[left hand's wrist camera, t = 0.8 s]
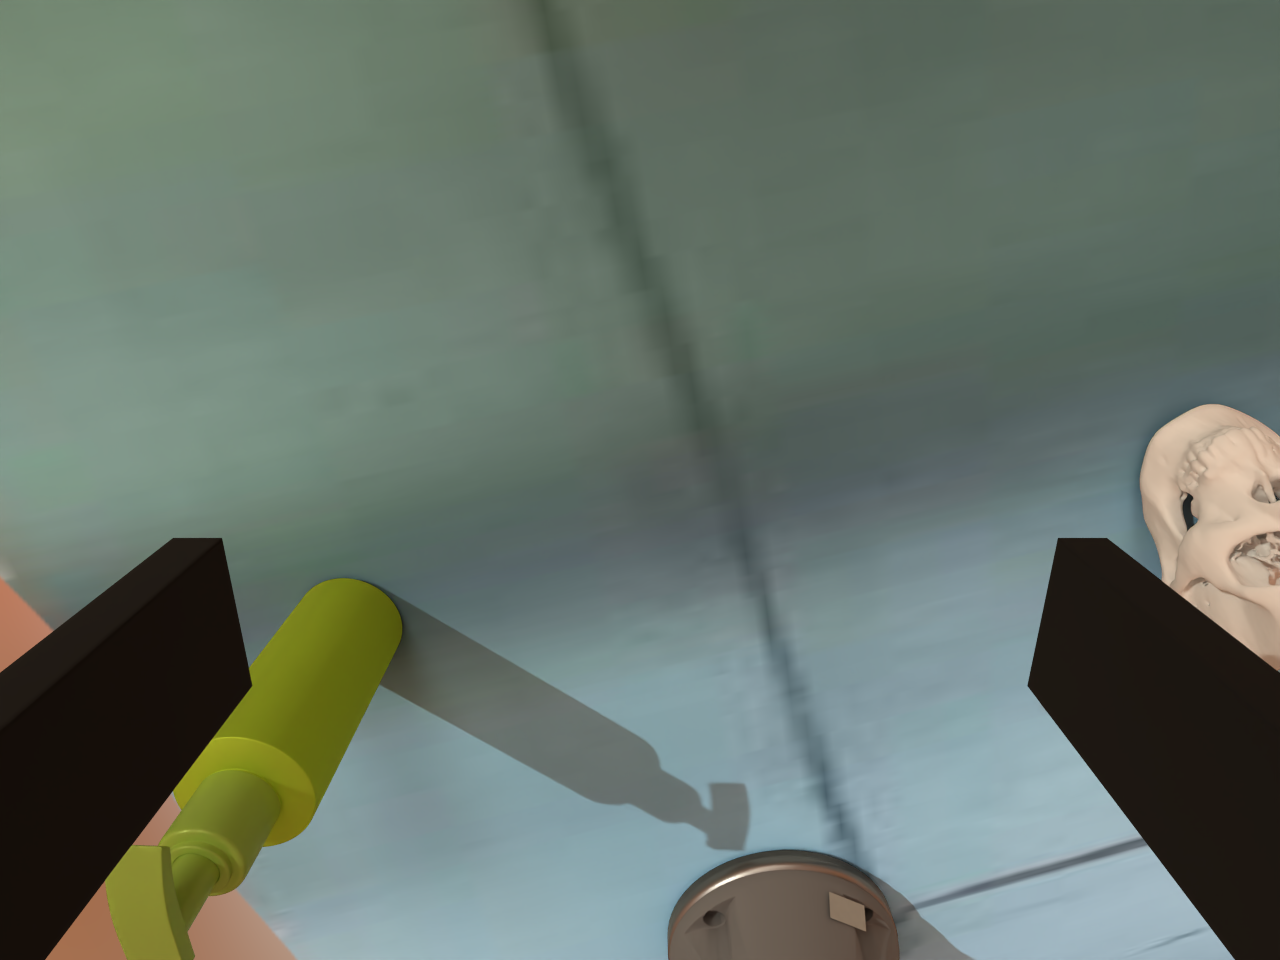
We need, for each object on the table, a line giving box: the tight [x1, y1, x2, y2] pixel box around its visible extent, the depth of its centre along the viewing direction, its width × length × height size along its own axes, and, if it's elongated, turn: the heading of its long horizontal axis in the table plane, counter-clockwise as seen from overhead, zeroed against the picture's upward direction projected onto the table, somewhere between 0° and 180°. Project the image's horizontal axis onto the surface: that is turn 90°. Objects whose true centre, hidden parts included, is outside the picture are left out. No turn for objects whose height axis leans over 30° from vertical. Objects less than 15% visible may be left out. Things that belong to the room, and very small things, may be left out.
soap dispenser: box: [105, 578, 402, 960], centre depth 36 cm, size 6×7×20 cm
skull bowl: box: [1140, 404, 1280, 670], centre depth 40 cm, size 10×14×12 cm
